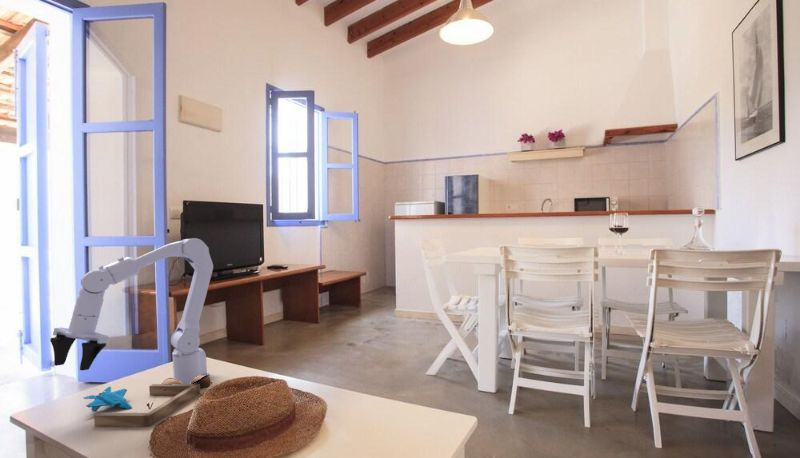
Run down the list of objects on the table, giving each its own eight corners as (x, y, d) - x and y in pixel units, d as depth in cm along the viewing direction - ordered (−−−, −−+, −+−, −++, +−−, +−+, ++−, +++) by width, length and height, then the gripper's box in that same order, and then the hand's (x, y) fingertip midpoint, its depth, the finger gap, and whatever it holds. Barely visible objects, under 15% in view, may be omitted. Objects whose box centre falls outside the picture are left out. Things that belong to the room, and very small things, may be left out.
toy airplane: (78, 419, 99) (77, 403, 99) (92, 403, 108) (91, 388, 108) (132, 410, 103) (132, 394, 103) (142, 395, 112) (141, 380, 112)
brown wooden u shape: (153, 392, 113) (153, 384, 113) (200, 392, 111) (199, 383, 111) (94, 426, 94) (94, 415, 94) (149, 426, 93) (148, 415, 93)
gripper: (48, 311, 103) (32, 365, 100) (97, 319, 101) (82, 374, 98) (73, 310, 110) (58, 361, 107) (119, 318, 108) (105, 370, 105)
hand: (71, 367), depth 103 cm, fingers open, 7 cm apart
